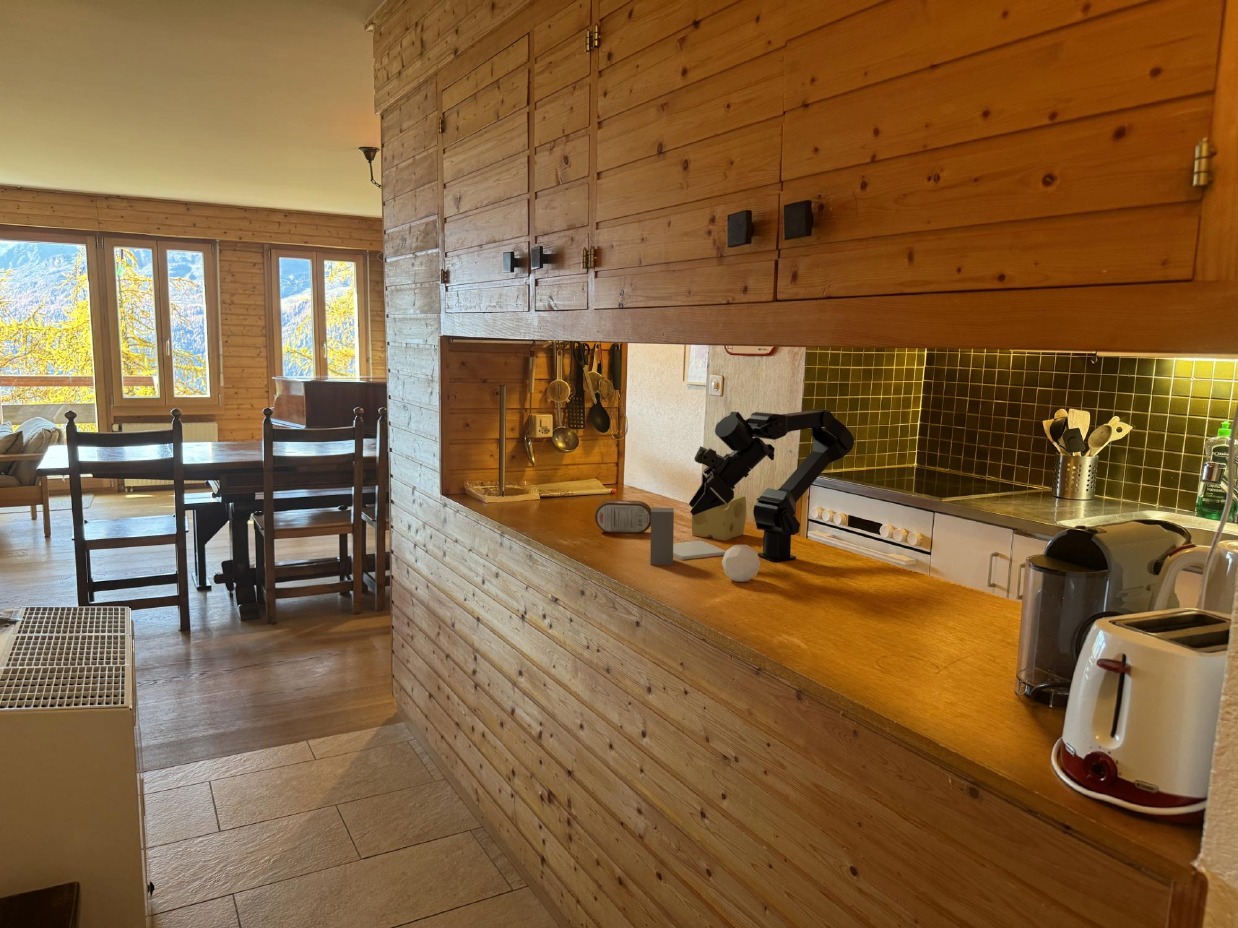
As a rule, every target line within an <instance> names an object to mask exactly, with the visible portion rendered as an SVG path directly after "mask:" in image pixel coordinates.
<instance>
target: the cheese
mask: <svg viewBox="0 0 1238 928" xmlns="http://www.w3.org/2000/svg"><path fill="white" fill-rule="evenodd" d="M746 499H747V498H746V496H743V495H734V498H733V499H732V500H731V501H730V502H729V503H728V504H727V503H726V502H725V504H724V505H720V506H717V507H715V508H712V509H709V510H706V511H704V512H701V513H698V514H696V515H692V514H691V533H692V534H691V535H692V536H694V537H701V538H712V539H713V540H719V541H722V542H726V541H729V540H730V539H733V538H736V537H739V536H743V535H744V533H745V524H746V519H747V501H746ZM692 508H693V507H691V509H692Z"/></svg>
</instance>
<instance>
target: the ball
mask: <svg viewBox="0 0 1238 928" xmlns="http://www.w3.org/2000/svg"><path fill="white" fill-rule="evenodd" d="M759 557H760V556H758V551H756V550H755V549H754V548H752V547H751V546H749V545H748V544H734V545H732V546H731V547H729V548H728V549H726V550H725V554H724V555H723V557H722V560H721V565H722V568H723V571H724V574H725V575H726V576H727V577H728V578H730V579H731V580H733V582H737V583H738V582H739V583H740V582H741V583H742V582H744V583H745V582H749V581H750V580H751V579H754V578H755V576H757V575H758V572H759V569H760V566H761V561H760V558H759Z"/></svg>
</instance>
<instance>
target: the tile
mask: <svg viewBox="0 0 1238 928" xmlns="http://www.w3.org/2000/svg"><path fill="white" fill-rule="evenodd" d="M725 551H726V550H725V549H722V548H720V547H717V546H715V545H713V544H710V543H707V542H706V541H703V540H694V541H684V542H675V543H674V542H673V558H676V559H678V560H680V561H682V560H683V561H684V560H692V559H699V558H700V559H701V558H709V557H718V556H724V554H725Z"/></svg>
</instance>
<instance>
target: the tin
mask: <svg viewBox="0 0 1238 928" xmlns="http://www.w3.org/2000/svg"><path fill="white" fill-rule="evenodd" d="M594 521H595V524H596V525H597V527H598V528H599V529H600V531H602V532H605V533H609V534H631V535H632V534H636V535H639V534H643V533H645V532H646V531H648V530H649V529H650V528H651V507H650V506H649V504H648V503H646V502H643V501H640V500H625V499H624V500H619V499H608V500H604V501H602V502H601V503H600V504H599V505H598V506H597V508H596V510H595V513H594Z"/></svg>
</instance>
